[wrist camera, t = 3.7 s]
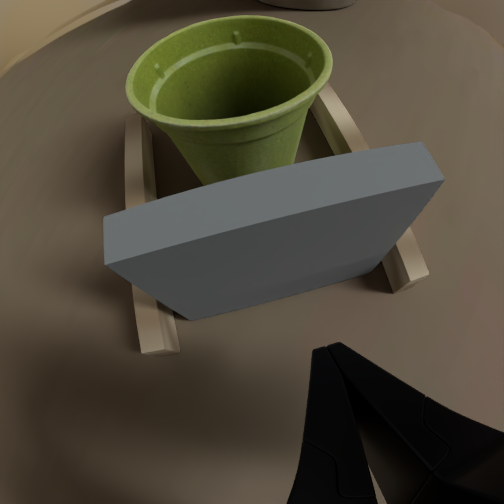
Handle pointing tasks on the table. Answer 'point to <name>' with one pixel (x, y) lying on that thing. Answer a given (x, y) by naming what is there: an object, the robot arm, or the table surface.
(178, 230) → the board
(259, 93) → the plant pot
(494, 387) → the table surface
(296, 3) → the plant pot
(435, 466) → the robot arm
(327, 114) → the wooden rail frame
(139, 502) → the table surface
